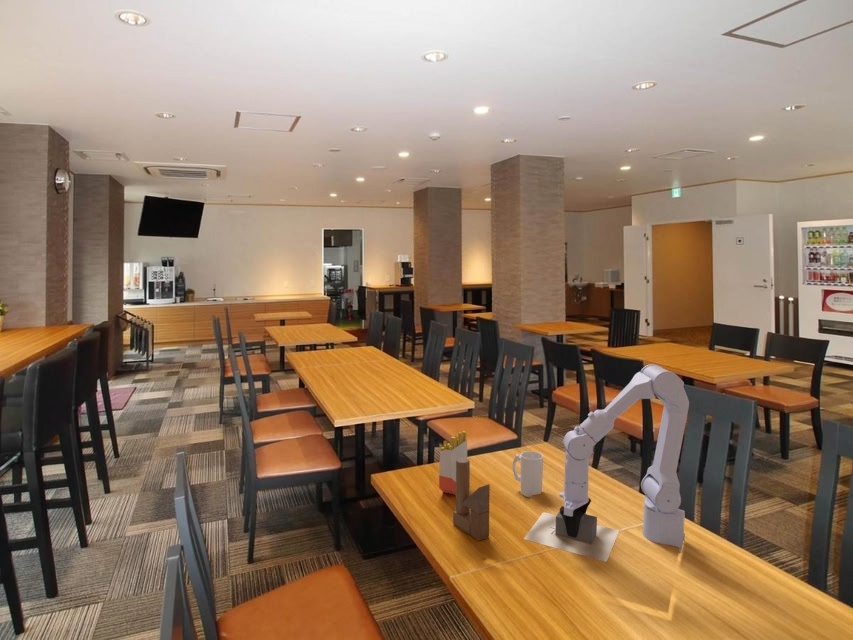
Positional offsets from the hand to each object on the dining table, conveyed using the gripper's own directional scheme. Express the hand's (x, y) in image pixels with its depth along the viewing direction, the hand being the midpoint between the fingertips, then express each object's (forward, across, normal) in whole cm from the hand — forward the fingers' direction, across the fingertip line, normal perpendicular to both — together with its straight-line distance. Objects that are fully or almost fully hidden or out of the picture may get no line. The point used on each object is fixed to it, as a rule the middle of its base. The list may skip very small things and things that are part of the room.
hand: (575, 531), depth 131 cm
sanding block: (+1, 0, 0) cm, 1 cm away
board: (+2, 0, -1) cm, 2 cm away
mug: (+2, -20, -20) cm, 28 cm away
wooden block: (+2, +9, -25) cm, 26 cm away
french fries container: (+2, -10, -40) cm, 41 cm away
